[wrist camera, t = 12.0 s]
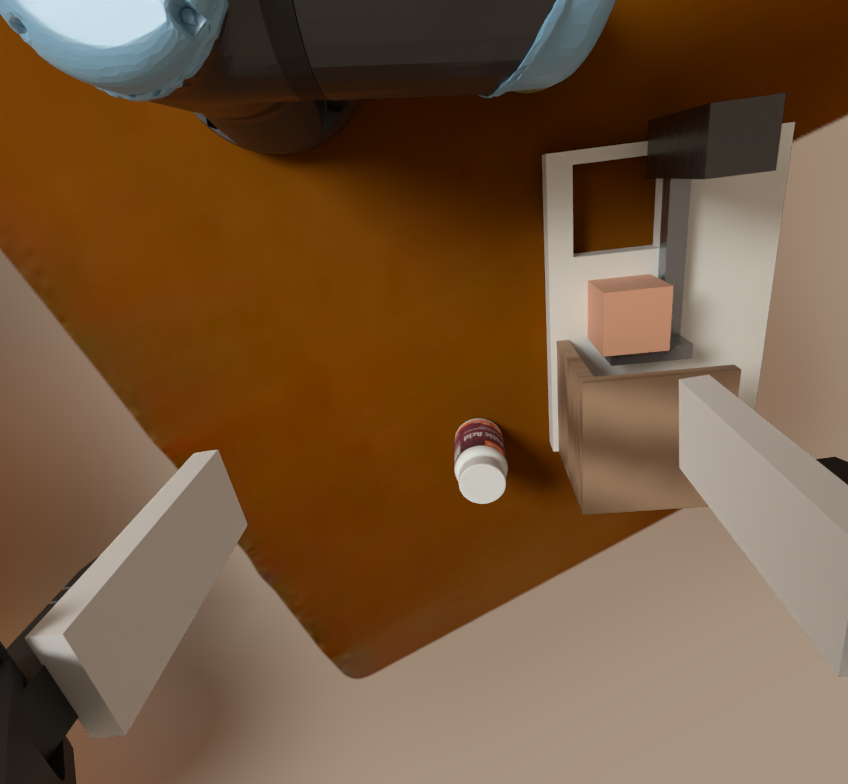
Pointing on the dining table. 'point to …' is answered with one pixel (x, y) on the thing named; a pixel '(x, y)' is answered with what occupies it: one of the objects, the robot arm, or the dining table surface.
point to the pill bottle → (480, 461)
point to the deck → (704, 269)
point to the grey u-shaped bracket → (702, 159)
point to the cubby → (625, 435)
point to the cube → (629, 314)
